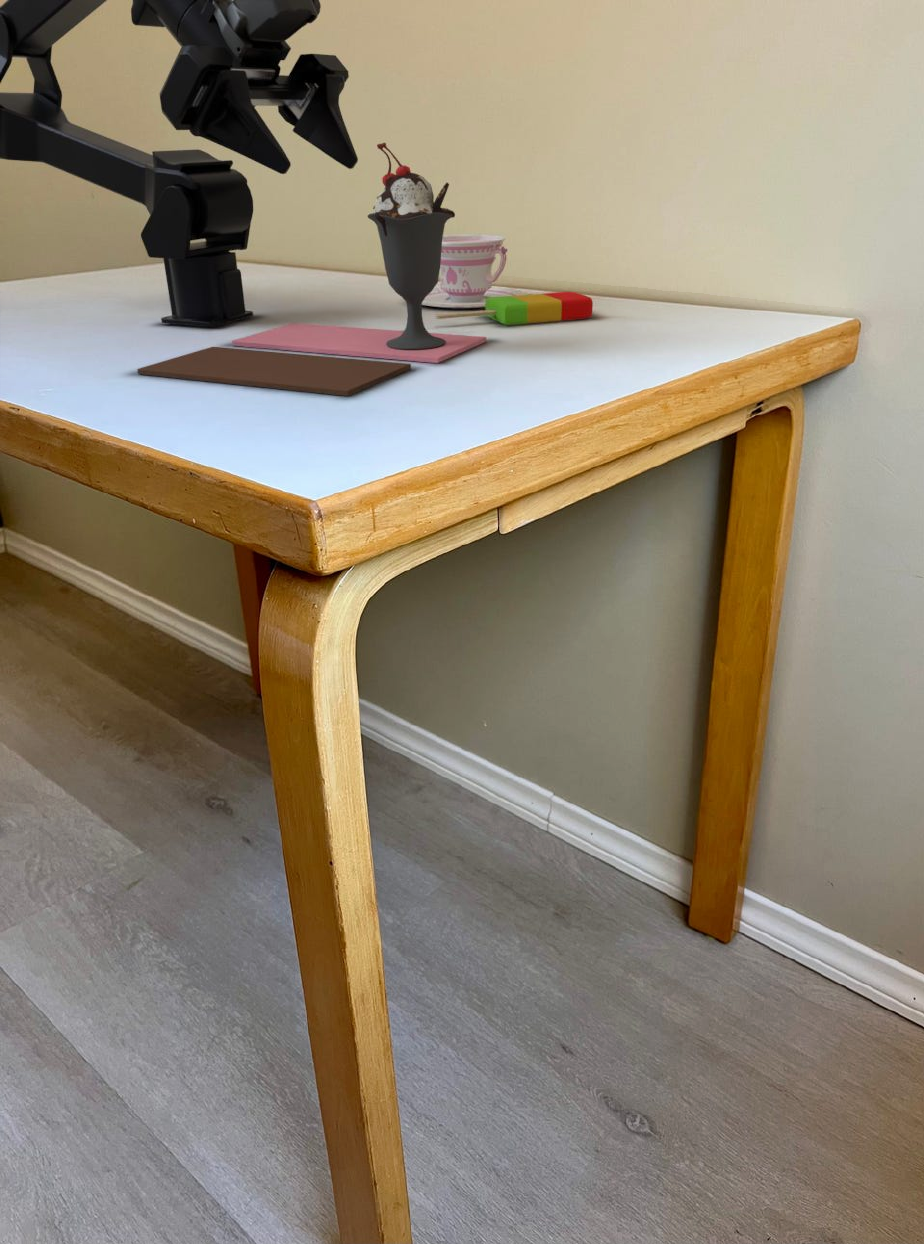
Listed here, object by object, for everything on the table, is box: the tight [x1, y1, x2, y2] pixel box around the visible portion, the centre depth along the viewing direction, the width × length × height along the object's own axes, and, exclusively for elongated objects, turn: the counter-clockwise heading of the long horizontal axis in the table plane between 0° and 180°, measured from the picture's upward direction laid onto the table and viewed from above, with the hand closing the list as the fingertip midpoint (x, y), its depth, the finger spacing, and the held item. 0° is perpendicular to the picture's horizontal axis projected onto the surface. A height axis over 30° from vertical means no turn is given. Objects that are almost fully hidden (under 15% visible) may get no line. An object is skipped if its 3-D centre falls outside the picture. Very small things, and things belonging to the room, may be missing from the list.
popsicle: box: [435, 291, 594, 326], centre depth 91 cm, size 6×15×2 cm, turn 109°
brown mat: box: [136, 346, 412, 397], centre depth 74 cm, size 19×9×1 cm, turn 64°
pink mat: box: [231, 322, 487, 364], centre depth 83 cm, size 20×9×1 cm, turn 64°
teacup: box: [422, 233, 526, 309], centre depth 100 cm, size 12×12×6 cm
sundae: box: [367, 142, 456, 350], centre depth 77 cm, size 7×7×15 cm
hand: (322, 167), depth 81 cm, fingers open, 9 cm apart
